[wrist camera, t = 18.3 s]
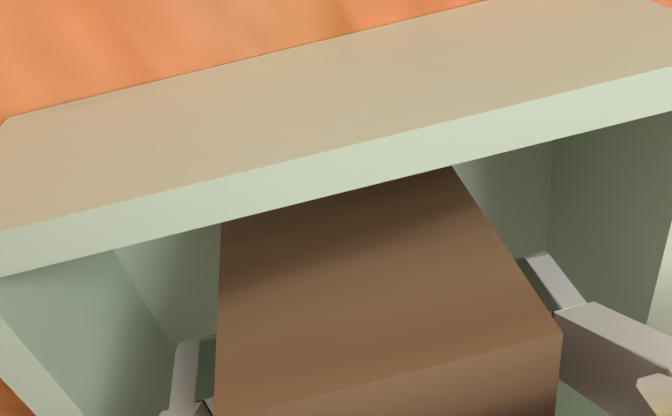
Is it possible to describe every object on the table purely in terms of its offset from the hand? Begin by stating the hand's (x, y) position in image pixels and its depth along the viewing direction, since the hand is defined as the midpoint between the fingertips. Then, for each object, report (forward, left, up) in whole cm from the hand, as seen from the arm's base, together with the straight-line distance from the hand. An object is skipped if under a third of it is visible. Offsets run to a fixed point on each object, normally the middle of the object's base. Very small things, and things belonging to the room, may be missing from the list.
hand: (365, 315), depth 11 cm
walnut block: (0, 0, -2) cm, 2 cm away
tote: (0, -4, -4) cm, 6 cm away
